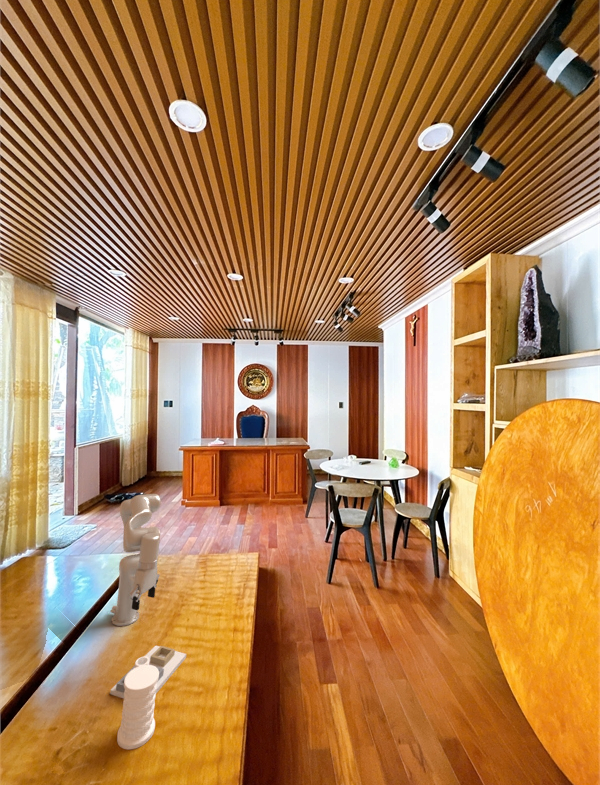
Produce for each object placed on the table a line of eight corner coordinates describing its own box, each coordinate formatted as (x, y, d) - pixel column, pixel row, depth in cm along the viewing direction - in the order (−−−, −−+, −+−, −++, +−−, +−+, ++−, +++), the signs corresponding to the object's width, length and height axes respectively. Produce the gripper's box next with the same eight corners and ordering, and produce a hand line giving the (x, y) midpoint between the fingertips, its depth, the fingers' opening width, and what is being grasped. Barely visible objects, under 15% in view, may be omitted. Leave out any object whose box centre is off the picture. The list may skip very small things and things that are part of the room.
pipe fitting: (151, 675, 134) (153, 654, 135) (144, 690, 127) (146, 668, 128) (136, 674, 134) (138, 654, 134) (127, 689, 127) (130, 667, 127)
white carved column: (147, 749, 107) (153, 690, 108) (110, 749, 106) (116, 690, 107) (159, 716, 118) (164, 664, 119) (126, 716, 117) (131, 663, 119)
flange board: (110, 694, 126) (111, 683, 126) (155, 648, 151) (156, 639, 151) (145, 706, 122) (146, 694, 122) (186, 657, 147) (186, 648, 147)
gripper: (153, 553, 154) (149, 590, 153) (125, 570, 137) (121, 612, 137) (167, 556, 152) (163, 594, 152) (141, 574, 135) (136, 617, 135)
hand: (143, 602), depth 144 cm, fingers open, 9 cm apart
